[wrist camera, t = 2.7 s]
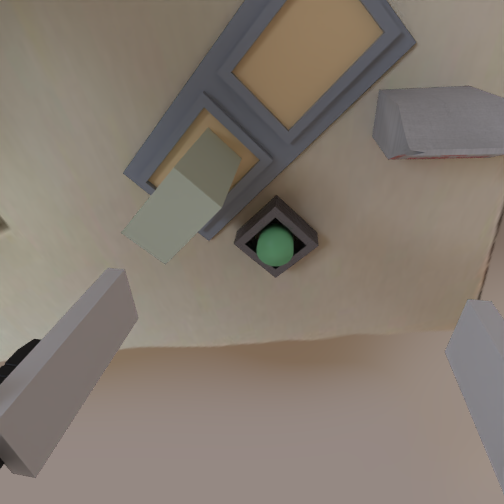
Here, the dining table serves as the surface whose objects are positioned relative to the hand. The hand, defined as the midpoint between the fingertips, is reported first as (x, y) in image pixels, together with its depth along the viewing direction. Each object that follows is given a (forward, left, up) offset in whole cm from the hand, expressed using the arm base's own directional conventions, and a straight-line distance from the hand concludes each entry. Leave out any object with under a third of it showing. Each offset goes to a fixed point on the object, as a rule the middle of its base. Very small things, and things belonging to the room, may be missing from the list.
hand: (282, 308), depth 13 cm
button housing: (-7, -5, -20) cm, 22 cm away
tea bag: (+10, -5, -21) cm, 23 cm away
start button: (-7, -5, -19) cm, 21 cm away
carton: (-7, +5, -20) cm, 22 cm away
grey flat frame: (0, +5, -20) cm, 21 cm away
